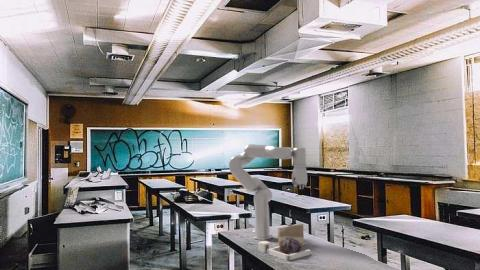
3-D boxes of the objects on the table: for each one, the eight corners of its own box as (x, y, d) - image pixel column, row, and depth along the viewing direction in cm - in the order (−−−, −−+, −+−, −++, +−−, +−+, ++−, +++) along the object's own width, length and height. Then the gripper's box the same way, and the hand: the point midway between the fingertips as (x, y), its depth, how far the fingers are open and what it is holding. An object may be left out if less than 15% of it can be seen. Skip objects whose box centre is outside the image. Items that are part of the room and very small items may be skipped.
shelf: (275, 247, 227) (275, 227, 227) (299, 242, 239) (298, 223, 239) (282, 250, 222) (282, 229, 223) (306, 244, 234) (305, 224, 235)
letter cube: (258, 250, 222) (258, 242, 222) (264, 249, 225) (264, 240, 225) (264, 252, 218) (263, 244, 218) (270, 251, 221) (270, 242, 221)
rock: (292, 260, 207) (304, 256, 213) (293, 245, 206) (305, 241, 212) (277, 252, 216) (289, 248, 222) (278, 238, 215) (290, 234, 221)
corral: (267, 253, 216) (267, 249, 216) (289, 248, 226) (289, 243, 226) (288, 260, 202) (288, 255, 202) (310, 254, 213) (310, 249, 213)
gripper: (303, 165, 252) (304, 193, 251) (287, 167, 243) (287, 195, 242) (312, 166, 246) (312, 194, 245) (295, 167, 237) (296, 196, 236)
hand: (300, 195), depth 244 cm, fingers closed
